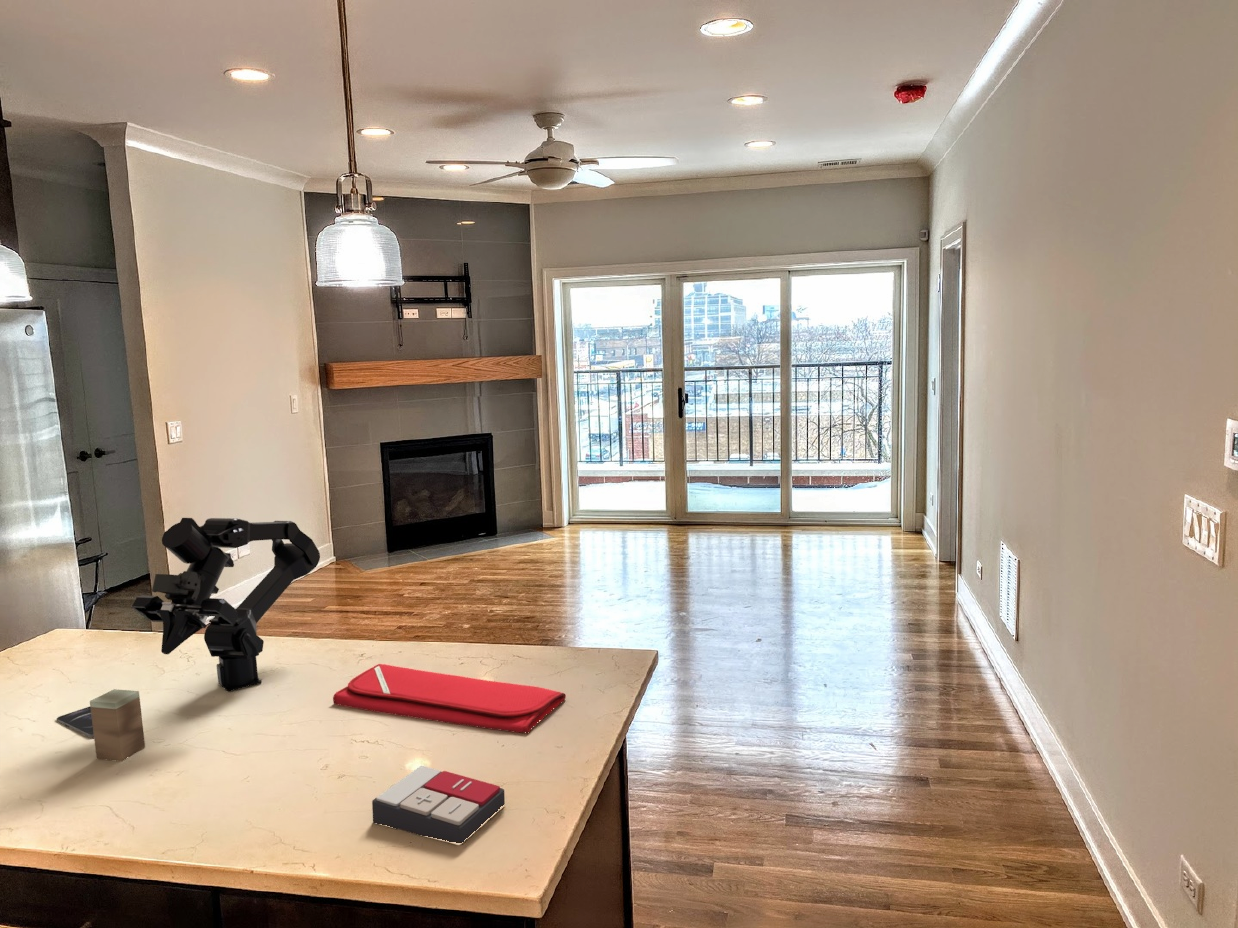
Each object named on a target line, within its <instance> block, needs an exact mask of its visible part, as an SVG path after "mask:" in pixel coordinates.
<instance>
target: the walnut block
mask: <svg viewBox="0 0 1238 928" xmlns="http://www.w3.org/2000/svg"><path fill="white" fill-rule="evenodd" d="M140 697H141V696H140V691H139V690H129V689H128V690H127V689H117V688H116V689H115V688H113V689H112V690H109V691H108V692H106V693H103V694H102V695H99V696H97V697H95V698H93V699H91V700H89V707H90V708H91V716H92V725H93V733H94V738H93V741H94V747H95V756H96V760H102V759H107V760H106V761H112V760H116V761H115V762H124V761H125V760H127V759H128V758H127V757H129V758H131V757H132V756H133V755H135V754H138V753H139V752H141V751H142V750H144V749H146V743H145V742H146V741H145V733H144V732H145V731H144V725H143V715H142V714H143V713H142V708H141V706H142V705H141V699H140ZM126 758H127V759H126ZM124 759H125V760H124ZM123 760H124V761H123Z"/></svg>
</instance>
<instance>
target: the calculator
mask: <svg viewBox="0 0 1238 928" xmlns="http://www.w3.org/2000/svg"><path fill="white" fill-rule="evenodd" d="M371 802H372V803H371V805H372V808H371V810H372V823H373V824H374V823H377V824H376V825H378V824H382V825H387V826H390V827H393V828H396V829H395V830H402V831H404V830H405V831H404V832H408V833H410V832H411V834H414V835H417V834H418V835H417V836H420V835H422V836H421V837H423V836H428V837H433V838H437V839H442V840H445V841H446V840H447V841H449V842H456V843H462V842H464V840H465V839H466V838H468V837H469V836H470V835H471V834H472V833H473V832H474V831H476V830H477V829H478V828H479V827H480V826H481V824H483V823H484V822H485V821H486V820H487V819H488V818H490V817H491V816H492V815H493V814H494V813H495V812H497V811H498V809H500V807H501V806H503V805H504V804H505V789H504V788H503V787H502V788H501V787H500V786H499V785H497V784H493V783H489V782H486V781H482V780H478V779H476V778H472V777H468V776H465V775H461V774H457V773H455V772H454V773H453V772H450V771H446V770H443V771H441V770H439V769H435V768H431V767H428V766H425V765H420V766H419V767H417V768H416V769H414V770H412V772H410V773H409V774H407V775H406V776H405V777H403V778H401V779H400V780H399V781H397V782H396V783H394V784H393V785H392V786H390V787H389V788H388V789H386V790H385V791H383V792H382V793H381V794H379V795H378V796H376V797H375V798H374V799H372V801H371ZM393 828H392V829H393Z"/></svg>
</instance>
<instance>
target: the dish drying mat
mask: <svg viewBox="0 0 1238 928" xmlns="http://www.w3.org/2000/svg"><path fill="white" fill-rule="evenodd" d="M566 695H567V694H565V693H564V692H561V691H556V690H553V689H549V688H545V687H540V686H534V685H525V684H517V683H509V682H503V681H502V682H501V681H495V680H494V681H493V680H486V679H480V678H479V679H478V678H473V677H468V676H467V677H466V676H463V675H462V676H461V675H460V676H459V675H453V674H448V673H447V674H446V673H440V672H433V671H428V670H420V669H415V668H409V667H403V666H402V667H401V666H396V665H395V666H394V665H390V664H385V663H384V664H382V663H378V664H376V665H373V666H372V667H370V668H368V669H367V670H365V671H363V672H362V673H360V674H358V675H357V676H355V677H353V678H352V679H351V680H350V681H349V682H348V683H347V686H345V687H344V688H342V689H340V690H338V691H336V692H335V693H334V694H333V696H332V700H333V701H332V702H333V704H334V705H338V706H342V707H348V708H354V709H359V710H365V711H371V712H375V713H382V714H383V713H384V714H389V715H394V714H396V715H395V716H401V715H402V717H408V716H409V717H411V718H415V717H416V718H415V719H421V718H422V720H427V719H428V721H433V720H438V721H437V722H440V721H443V722H442V723H446V722H449V723H448V724H453V723H454V724H453V725H460V724H461V725H462V726H468V725H469V726H468V727H474V726H478V727H477V728H481V727H485V728H484V729H488V728H492V729H491V730H495V729H501V730H500V731H503V730H508V731H507V732H511V731H514V732H513V733H518V732H526V733H528V732H529V733H531V731H532V730H531V728H532V727H533V726H535V725H536V724H537V722H539V720H541V721H543V720H544V719H543V717H544V716H545V715H546V714H548V715H549V714H551V713H552V712H551V710H553V708H555V709H556V708H557V707H559V706H560V705H561V704H562V703H564V701H565V699H566ZM561 702H562V703H561ZM560 703H561V704H560ZM559 704H560V705H559ZM558 705H559V706H558ZM553 711H554V710H553ZM539 723H540V722H539ZM461 725H460V726H461ZM537 725H538V724H537ZM537 725H536V726H537ZM536 726H535V727H536ZM530 730H531V731H530ZM526 733H525V734H526ZM529 733H528V734H529Z"/></svg>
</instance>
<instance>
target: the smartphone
mask: <svg viewBox="0 0 1238 928" xmlns="http://www.w3.org/2000/svg"><path fill="white" fill-rule="evenodd" d="M56 722H57V723H60V724H61V725H63V726H65V727H67V728H69V729H72V730H73V731H74V732H77V733H79V734H81V735H83V736H85V737H86V738H88V739H94V733H93V725H92V716H91V708H90V706H86V707H85V708H82V709H78V710H75V711H72V712H68V713H65V714H63V715H60V716H57V717H56Z"/></svg>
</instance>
